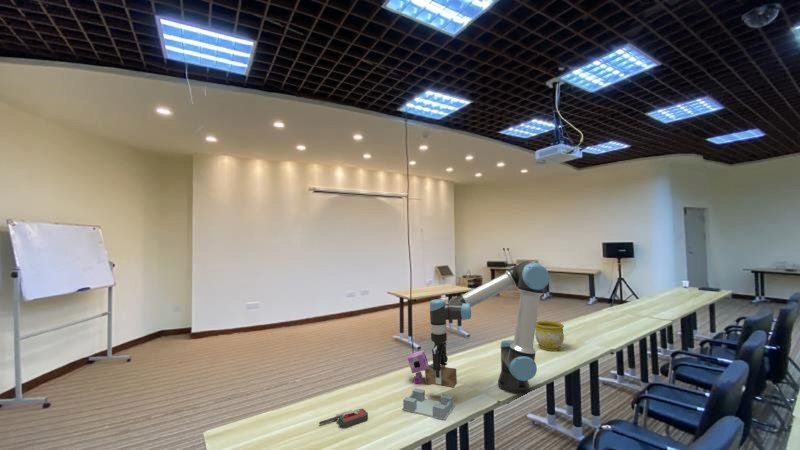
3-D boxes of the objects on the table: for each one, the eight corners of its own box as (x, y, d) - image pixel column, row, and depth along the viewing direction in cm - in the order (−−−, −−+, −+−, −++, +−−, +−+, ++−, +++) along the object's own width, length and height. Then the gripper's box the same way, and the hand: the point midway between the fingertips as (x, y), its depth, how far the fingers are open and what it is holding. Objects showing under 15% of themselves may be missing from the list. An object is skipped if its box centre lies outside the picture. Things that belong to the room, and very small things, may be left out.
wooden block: (456, 383, 164) (456, 366, 164) (453, 387, 159) (453, 370, 159) (429, 379, 170) (428, 362, 170) (425, 383, 165) (424, 366, 165)
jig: (454, 406, 156) (454, 396, 156) (445, 420, 144) (444, 409, 144) (414, 397, 165) (414, 387, 165) (402, 409, 153) (402, 399, 153)
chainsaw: (362, 411, 153) (318, 425, 142) (361, 401, 153) (318, 414, 142) (371, 420, 145) (325, 435, 134) (371, 409, 145) (325, 424, 135)
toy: (430, 384, 177) (421, 355, 179) (416, 387, 179) (407, 359, 181) (433, 376, 188) (424, 349, 190) (419, 380, 189) (410, 353, 191)
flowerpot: (569, 352, 225) (568, 327, 226) (541, 352, 226) (541, 327, 226) (557, 343, 243) (556, 320, 244) (531, 344, 244) (531, 320, 244)
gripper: (437, 327, 175) (439, 373, 174) (424, 336, 159) (426, 387, 158) (452, 328, 172) (454, 375, 171) (439, 338, 156) (441, 390, 155)
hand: (440, 381), depth 165 cm, fingers closed on wooden block, 5 cm apart
